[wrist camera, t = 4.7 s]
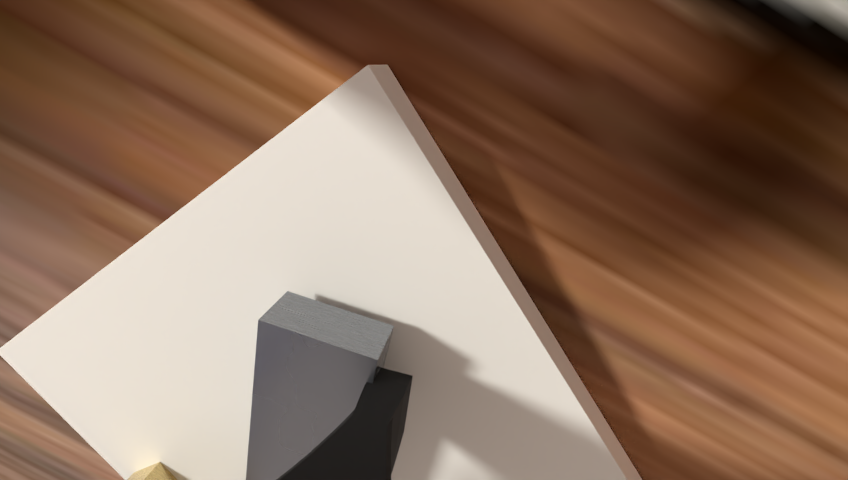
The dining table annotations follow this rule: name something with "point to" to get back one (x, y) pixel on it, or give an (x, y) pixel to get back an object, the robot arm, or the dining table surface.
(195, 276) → the base board
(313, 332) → the latch bar
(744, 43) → the dining table surface
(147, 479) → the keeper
